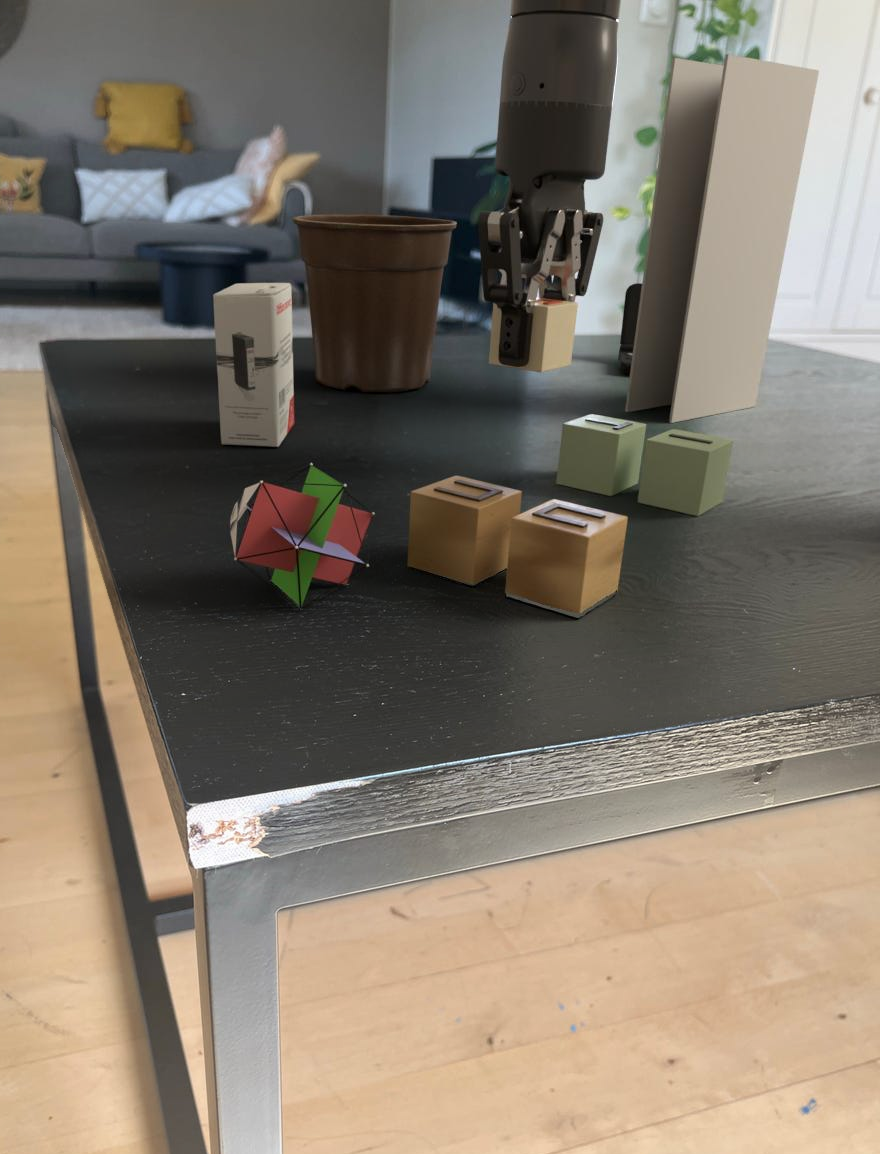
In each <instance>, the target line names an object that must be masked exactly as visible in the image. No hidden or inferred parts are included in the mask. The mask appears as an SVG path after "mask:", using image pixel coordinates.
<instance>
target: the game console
mask: <svg viewBox="0 0 880 1154" xmlns="http://www.w3.org/2000/svg"><path fill="white" fill-rule="evenodd" d="M641 289H642V282H641V283H640V282H639V283H633V284H631V285H629V286H628V287H627V288H626V291H625V294H624V295H625V297H624V304H623V314H622V322H621V332H620V341H619V344H620V346H619V349H618V356H617V360H618V365H619V369H620V371H621V372H623V373H625V374H628V375H630V371H631V363H632V356H633V348H634V341H635V334H636V326H637V319H638V311H639V304H640V296H641Z"/></svg>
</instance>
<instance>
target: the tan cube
mask: <svg viewBox="0 0 880 1154" xmlns="http://www.w3.org/2000/svg"><path fill="white" fill-rule="evenodd" d="M522 493H523V491H522V490H519V489H514V488H511V487H507V486H504V485H503V486H502V485H498V484H494V483H490V482H487V481H486V482H485V481H482V480H477V479H473V478H469V477H466V476H461V475H453V476H450V477H447V478H445V479H442V480H439V481H436V482H433V483H430V484H428V485H425V486H423V487H420V488H417V489H414V490H411V491H410V498H409V499H410V503H409V521H408V524H409V525H408V547H407V548H408V550H407V567H408V566H409V567H414V568H417V569H420V570H425V571H427V572H430V573H435V574H438V575H441V576H444V577H449V578H452V579H455V580H458V581H461V582H467V583H470V584H475V583H477V582H479V581H480V580H483V579H485V578H487V577H489V576H491V575H492V574H496V573H497V572H499V571H502V570H504V569H505V568H507V564H508V553H509V542H510V531H511V520H512V517H514V516H517V515H519V514H521V508H522V507H521V506H522V505H521V504H522V496H523V495H522ZM409 567H408V568H409Z"/></svg>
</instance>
